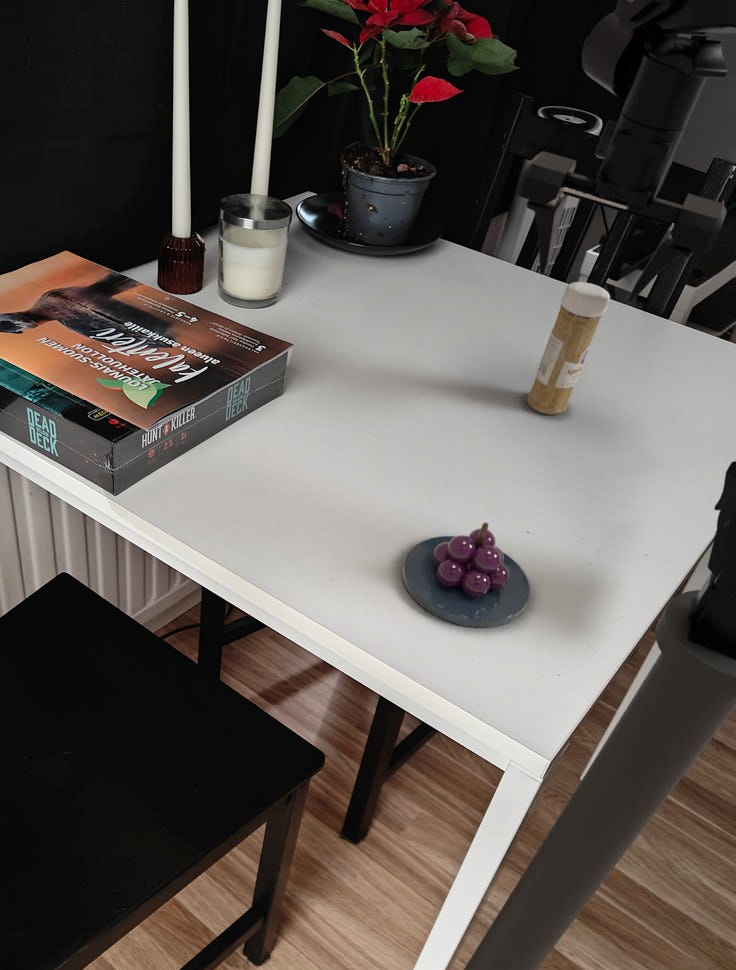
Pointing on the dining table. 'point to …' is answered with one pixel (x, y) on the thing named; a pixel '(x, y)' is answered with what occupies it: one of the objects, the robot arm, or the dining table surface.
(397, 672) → the dining table surface
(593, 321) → the sprinkles bottle
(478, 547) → the grapes
